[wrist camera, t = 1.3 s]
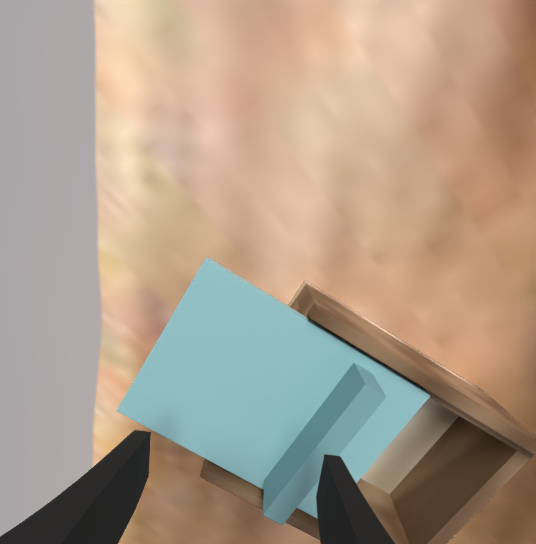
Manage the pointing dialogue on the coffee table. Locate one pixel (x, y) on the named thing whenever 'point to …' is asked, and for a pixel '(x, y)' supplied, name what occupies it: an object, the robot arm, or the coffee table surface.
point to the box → (415, 440)
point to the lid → (266, 391)
